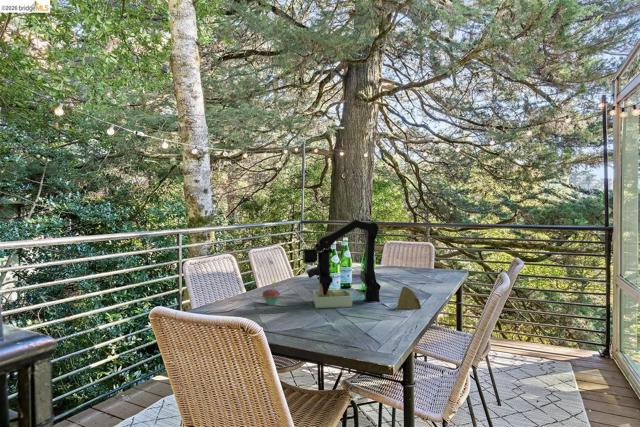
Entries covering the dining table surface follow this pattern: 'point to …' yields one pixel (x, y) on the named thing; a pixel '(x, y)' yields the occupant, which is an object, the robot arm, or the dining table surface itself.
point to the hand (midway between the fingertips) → (324, 293)
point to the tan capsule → (322, 291)
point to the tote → (332, 300)
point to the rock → (408, 300)
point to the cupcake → (271, 296)
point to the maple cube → (338, 293)
